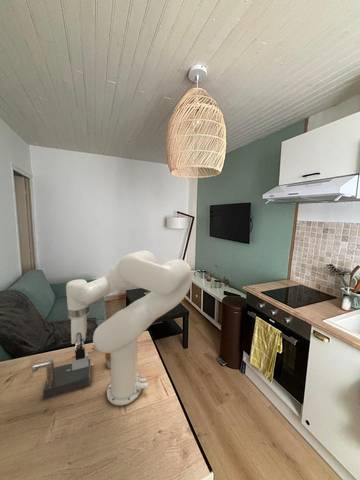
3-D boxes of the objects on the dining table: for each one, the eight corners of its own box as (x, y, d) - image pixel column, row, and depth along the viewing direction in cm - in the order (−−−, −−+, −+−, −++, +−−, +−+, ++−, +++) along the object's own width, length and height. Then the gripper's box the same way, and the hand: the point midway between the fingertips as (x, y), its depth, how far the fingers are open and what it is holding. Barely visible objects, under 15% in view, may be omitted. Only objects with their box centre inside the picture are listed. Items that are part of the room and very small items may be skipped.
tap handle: (88, 363, 82) (88, 352, 82) (88, 366, 81) (88, 354, 80) (72, 367, 80) (72, 356, 79) (72, 370, 78) (71, 358, 78)
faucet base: (94, 365, 86) (94, 357, 86) (94, 384, 76) (93, 376, 76) (50, 376, 80) (50, 367, 80) (43, 398, 70) (43, 389, 70)
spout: (55, 380, 74) (54, 357, 73) (54, 385, 72) (52, 362, 70) (34, 386, 71) (32, 362, 70) (32, 391, 69) (30, 367, 68)
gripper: (70, 304, 84) (73, 341, 86) (64, 323, 68) (68, 368, 70) (89, 301, 87) (92, 337, 89) (88, 318, 71) (90, 362, 73)
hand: (81, 350), depth 79 cm, fingers open, 9 cm apart
